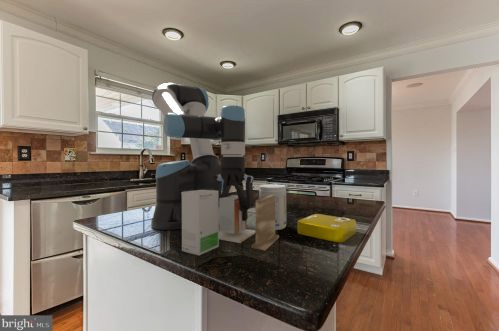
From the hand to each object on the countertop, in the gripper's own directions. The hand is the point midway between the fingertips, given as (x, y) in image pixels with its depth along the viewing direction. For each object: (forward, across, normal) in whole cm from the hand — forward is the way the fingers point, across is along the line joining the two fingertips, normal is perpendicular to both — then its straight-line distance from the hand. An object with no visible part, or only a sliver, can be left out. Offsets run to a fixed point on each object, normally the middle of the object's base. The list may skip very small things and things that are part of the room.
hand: (233, 229), depth 76 cm
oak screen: (+2, +12, -2) cm, 12 cm away
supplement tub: (+2, +8, +14) cm, 16 cm away
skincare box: (+2, -2, -14) cm, 14 cm away
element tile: (+2, +26, +16) cm, 31 cm away
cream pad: (+2, 0, 0) cm, 2 cm away
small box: (0, 0, 0) cm, 0 cm away
